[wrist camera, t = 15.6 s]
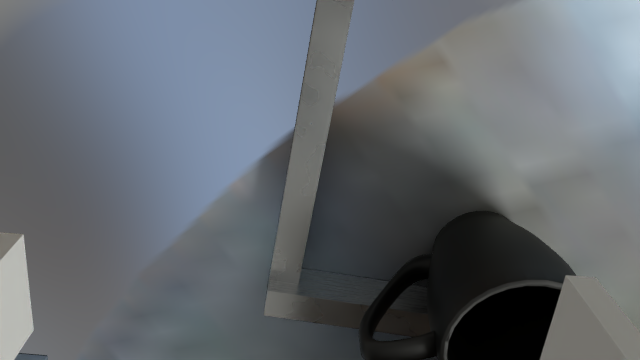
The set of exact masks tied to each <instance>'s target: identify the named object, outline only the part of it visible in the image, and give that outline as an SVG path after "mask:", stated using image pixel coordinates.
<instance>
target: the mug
mask: <svg viewBox="0 0 640 360" xmlns="http://www.w3.org/2000/svg"><path fill="white" fill-rule="evenodd" d="M566 275H570V276H576V274H575V273H574V272H573V270H572V269H571V268H570V266H569V265H568V264H567V263H566V262H565V261H564V260H563V259H562V258H561V257H560V256H559V255H558V254H557V253H556V252H555V251H553V250H552V249H551V248H550V247H549V246H547V245H546V244H545V243H544V242H543V241H541V240H540V239H539V238H538V237H536V236H535V235H533V234H532V233H530V232H529V231H527V230H526V229H524V228H522V227H520V226H518V225H516V224H515V223H513V222H511V221H509V220H508V219H507V218H505V217H503V216H501V215H499V214H497V213H492V212H488V211H476V212H470V213H466V214H464V215H461V216H459V217H457V218H455V219H453V220H452V221H450V222H449V223H448V224H447V225H446V226H445V227H444V228H443V229H442V230H441V231H440V233H439V234H438V236H437V237H436V240H435V243H434V245H433V253H432V254H427V255H422V256H418V257H416V258H414V259H412V260H410V261H409V262H408V263H406V264H405V265H404V266H403V267H402V268H401V269H400V270H399V271H398V272H397V273H396V274H395V275H394V277H393V278H392V279H391V280H390V281H389V282H388V284H387V285H386V286H385V287H384V289H383V290H382V291H381V292H380V293H379V295H378V296H377V297H376V298H375V300H374V301H373V302H372V304H371V305H370V306H369V308H368V309H367V311H366V312H365V314H364V316H363V318H362V320H361V322H360V326H359V342H360V351H361V355H362V357H363V358H364V359H365V360H423V359H427V358H430V357H434V356H437V358H438V360H540V357H541V354H542V351H543V348H544V344H545V341H546V338H547V335H548V331H549V328H550V325H551V322H552V318H553V315H554V312H555V309H556V305H557V302H558V299H559V296H560V292H561V289H562V286H563V283H564V279H565V276H566ZM424 279H428V286H427V310H428V319H429V325H430V330H431V332H428V333H425V334H422V335H419V336H415V337H411V338H407V339H401V340H394V341H378V340H375V339H373V335H374V332H375V329H376V327H377V325H378V323H379V322H380V320H381V319H382V317H383V316H384V315H385V313H386V312H387V310H388V309H389V308H390V306H391V305H392V304H393V303H394V301H395V300H396V299H397V298H398V297H399V296H400V295H401V294H402V293H403V292H404V291H405V290H406V289H407V288H408V287H409V286H411V285H412V284H414V283H416V282H418V281H420V280H424Z"/></svg>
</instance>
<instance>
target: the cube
mask: <svg viewBox="0 0 640 360" xmlns="http://www.w3.org/2000/svg"><path fill="white" fill-rule="evenodd" d="M14 360H48V356H47V355H39V354H26V353H18V355H17V356H16V358H15V359H14Z"/></svg>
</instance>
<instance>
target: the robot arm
mask: <svg viewBox="0 0 640 360" xmlns="http://www.w3.org/2000/svg"><path fill="white" fill-rule="evenodd" d="M33 330H34V329H33V319H32V310H31V300H30V291H29V282H28V272H27V263H26V254H25V245H24V235H23V234H12V233H0V360H14V359H15V358H16V356H17V355H18V353H19V352H20V350H21V349H22V347H23V346H24V344H25V342H26V341H27V339H28V338H29V336H30V335H31V333H32V332H33ZM540 360H640V332H639V331H638V330H637V328H636V327H635V326H634V325H633V323H632V322H631V321H630V320H629V318H628V317H627V316H626V315H625V313H624V312H623V311H622V310H621V308H620V307H619V306H618V305H617V303H616V302H615V301H614V300H613V298H612V297H611V296H610V295H609V293H608V292H607V291H606V290H605V288H604V287H603V286H602V285H601V283H600V282H599V281H598V280H597V279H596V277H583V276H570V275H566V276H565V279H564V283H563V286H562V289H561V292H560V296H559V299H558V302H557V305H556V309H555V312H554V315H553V318H552V322H551V325H550V328H549V331H548V335H547V338H546V341H545V344H544V348H543V351H542V354H541V357H540Z"/></svg>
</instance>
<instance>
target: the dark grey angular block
mask: <svg viewBox="0 0 640 360" xmlns="http://www.w3.org/2000/svg"><path fill="white" fill-rule="evenodd" d="M353 4H354V0H317V2H316V8H315V13H314V20H313V25H312V31H311V37H310V42H309V48H308V54H307V60H306V66H305V71H304V77H303V83H302V90H301V95H300V100H299V106H298V113H297V119H296V124H295V129H294V135H293V141H292V147H291V153H290V158H289V164H288V170H287V176H286V182H285V187H284V193H283V199H282V205H281V210H280V216H279V222H278V228H277V234H276V239H275V245H274V251H273V257H272V263H271V268H270V274H269V280H268V286H267V293H266V301H265V309H264V316H271V317H278V318H285V319H292V320H299V321H306V322H313V323H320V324H327V325H334V326H341V327H348V328H355V329H359V326H360V322H361V320H362V318H363V316H364V314H365V312H366V311H367V309H368V308H369V306H370V305H371V304H372V302H373V301H374V300H375V298H376V297H377V296H378V295H379V293H380V292H381V291H382V290H383V289H384V287H385V286H386V285H387V284H388V282H389V281H384V280H377V279H371V278H364V277H357V276H351V275H344V274H337V273H331V272H324V271H318V270H311V269H304V268H302V263H303V258H304V253H305V248H306V243H307V238H308V233H309V228H310V223H311V218H312V213H313V208H314V203H315V197H316V192H317V187H318V182H319V177H320V172H321V167H322V162H323V157H324V152H325V147H326V142H327V137H328V132H329V126H330V121H331V116H332V111H333V106H334V101H335V96H336V91H337V86H338V81H339V75H340V70H341V65H342V60H343V55H344V50H345V45H346V40H347V35H348V30H349V25H350V19H351V14H352V10H353ZM375 331H376V332H382V333H389V334H396V335H403V336H410V337H415V336H419V335H422V334H425V333H428V332H431V330H430V325H429V319H428V310H427V287H424V286H417V285H411V286H409V287H408V288H407V289H406V290H405V291H404V292H403V293H402V294H401V295H400V296H399V297H398V298H397V299H396V300H395V301H394V303H393V304H392V305H391V306H390V308H389V309H388V310H387V312H386V313H385V315H384V316H383V317H382V319H381V320H380V322H379V323H378V325H377V327H376V329H375Z"/></svg>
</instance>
